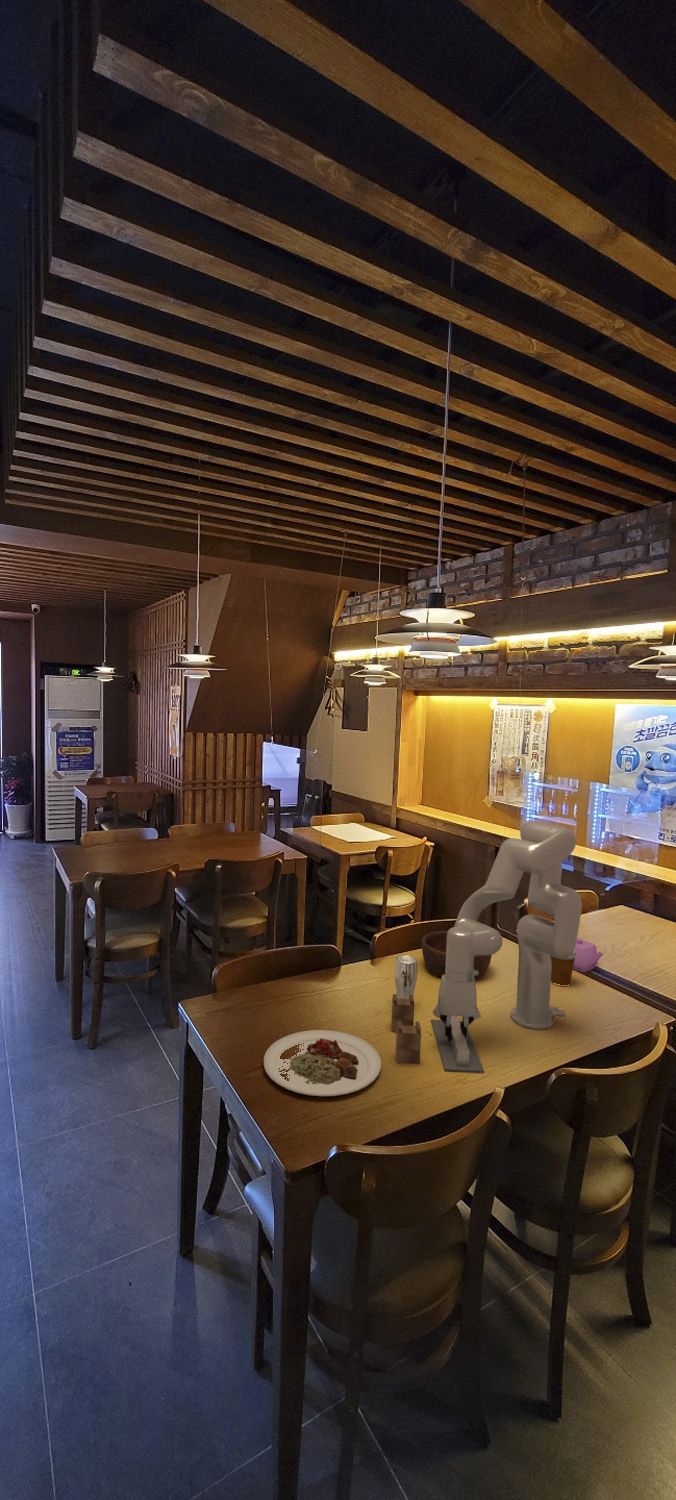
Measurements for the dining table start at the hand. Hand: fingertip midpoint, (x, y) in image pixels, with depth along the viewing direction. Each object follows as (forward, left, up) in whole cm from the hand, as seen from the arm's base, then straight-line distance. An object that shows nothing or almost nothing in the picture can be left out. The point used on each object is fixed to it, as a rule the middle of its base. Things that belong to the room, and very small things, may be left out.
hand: (455, 1038), depth 173 cm
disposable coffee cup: (-44, -45, -2) cm, 63 cm away
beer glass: (+12, -22, -2) cm, 25 cm away
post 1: (+14, -8, -2) cm, 16 cm away
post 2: (+14, +8, -2) cm, 16 cm away
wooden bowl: (-9, -52, -2) cm, 53 cm away
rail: (0, 0, -1) cm, 1 cm away
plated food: (+36, +13, -3) cm, 38 cm away
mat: (0, 0, -2) cm, 2 cm away
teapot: (-56, -61, -2) cm, 83 cm away
